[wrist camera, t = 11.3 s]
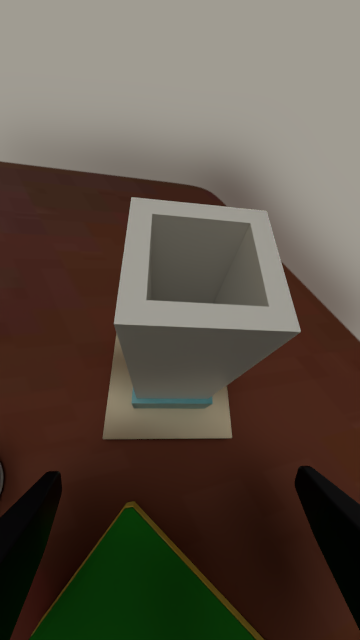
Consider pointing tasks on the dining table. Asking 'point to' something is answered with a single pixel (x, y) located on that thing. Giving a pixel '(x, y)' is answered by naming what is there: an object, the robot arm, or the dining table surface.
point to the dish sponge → (140, 592)
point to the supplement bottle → (1, 478)
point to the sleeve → (198, 300)
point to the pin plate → (159, 413)
